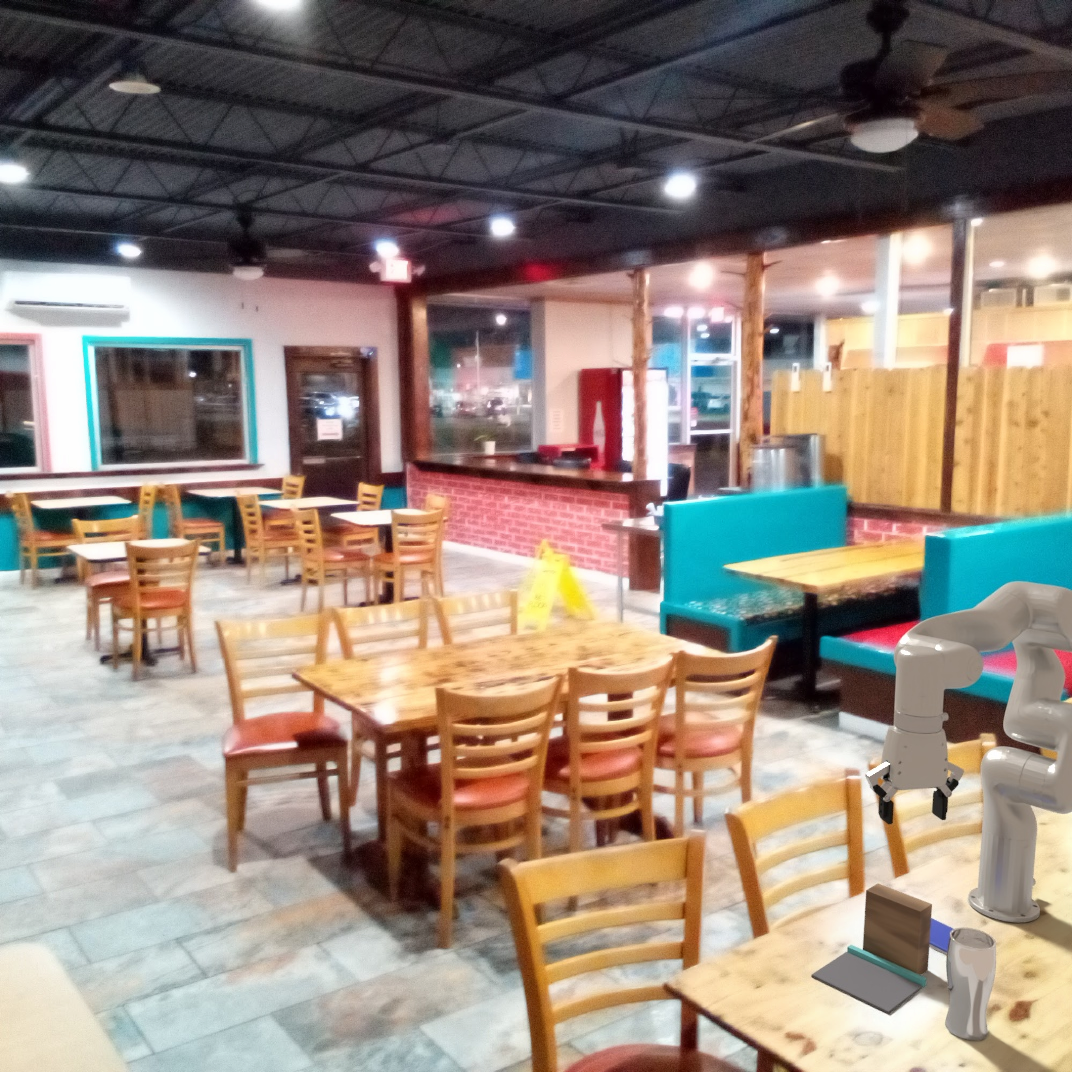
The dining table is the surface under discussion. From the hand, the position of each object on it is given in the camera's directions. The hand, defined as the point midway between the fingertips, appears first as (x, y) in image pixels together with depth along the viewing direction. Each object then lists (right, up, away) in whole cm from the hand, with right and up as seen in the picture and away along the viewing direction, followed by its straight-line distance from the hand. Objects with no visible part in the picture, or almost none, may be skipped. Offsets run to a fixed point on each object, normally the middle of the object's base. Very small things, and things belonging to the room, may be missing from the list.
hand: (912, 819), depth 170 cm
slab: (-1, -26, +5) cm, 27 cm away
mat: (-8, -27, -1) cm, 28 cm away
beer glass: (+3, -29, -14) cm, 32 cm away
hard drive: (+11, -26, +12) cm, 31 cm away
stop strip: (-4, -27, +3) cm, 27 cm away
